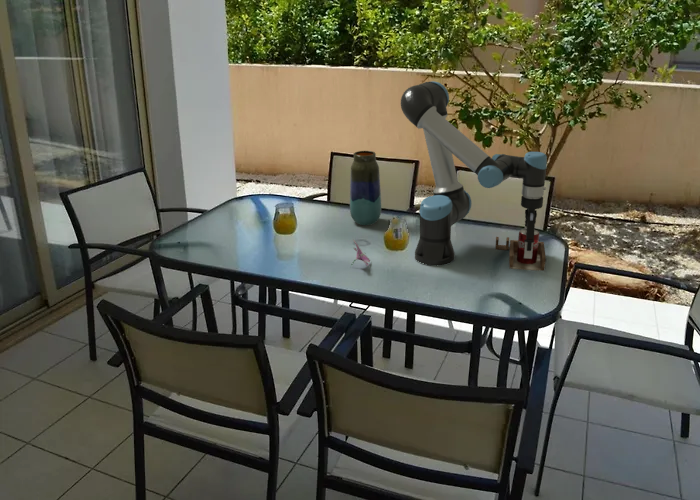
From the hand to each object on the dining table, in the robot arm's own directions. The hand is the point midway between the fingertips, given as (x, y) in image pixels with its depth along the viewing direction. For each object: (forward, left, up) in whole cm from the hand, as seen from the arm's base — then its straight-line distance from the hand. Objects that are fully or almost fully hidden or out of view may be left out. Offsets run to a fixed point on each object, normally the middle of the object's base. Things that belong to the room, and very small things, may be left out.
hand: (527, 250), depth 232 cm
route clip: (-9, +13, -5) cm, 17 cm away
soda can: (0, 0, -5) cm, 5 cm away
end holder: (0, +2, -5) cm, 5 cm away
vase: (-68, +33, -5) cm, 76 cm away
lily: (-60, -14, -5) cm, 62 cm away
